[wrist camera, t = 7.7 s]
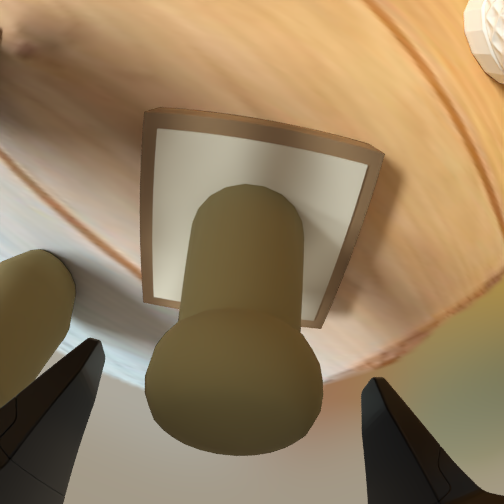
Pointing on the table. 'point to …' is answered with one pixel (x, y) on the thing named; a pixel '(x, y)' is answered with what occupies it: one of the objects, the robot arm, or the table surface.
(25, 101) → the table surface
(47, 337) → the squeeze bottle
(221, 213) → the cork
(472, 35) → the white cup
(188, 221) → the walnut picture frame
